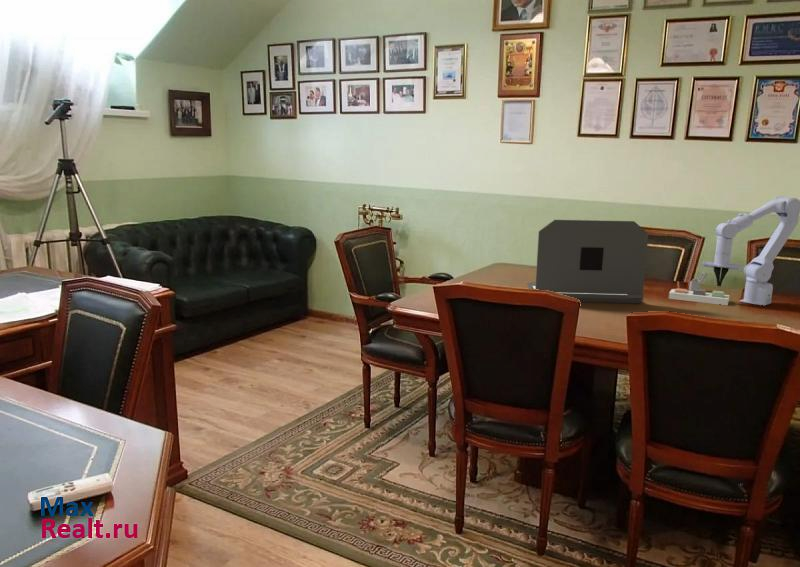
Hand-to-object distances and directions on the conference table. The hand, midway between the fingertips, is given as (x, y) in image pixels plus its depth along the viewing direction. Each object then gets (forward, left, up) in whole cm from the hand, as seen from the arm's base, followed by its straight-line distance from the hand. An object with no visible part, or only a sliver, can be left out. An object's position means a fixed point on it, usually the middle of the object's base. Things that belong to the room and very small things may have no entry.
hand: (719, 285), depth 251 cm
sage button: (0, 0, -6) cm, 6 cm away
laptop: (+43, +34, -7) cm, 55 cm away
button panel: (+6, +2, -7) cm, 10 cm away
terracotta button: (+13, +5, -6) cm, 15 cm away
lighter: (+15, -16, -7) cm, 23 cm away
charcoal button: (+6, +2, -6) cm, 9 cm away
